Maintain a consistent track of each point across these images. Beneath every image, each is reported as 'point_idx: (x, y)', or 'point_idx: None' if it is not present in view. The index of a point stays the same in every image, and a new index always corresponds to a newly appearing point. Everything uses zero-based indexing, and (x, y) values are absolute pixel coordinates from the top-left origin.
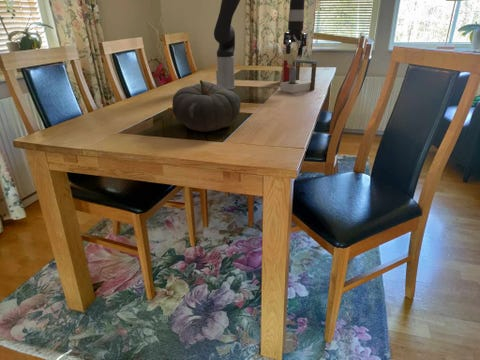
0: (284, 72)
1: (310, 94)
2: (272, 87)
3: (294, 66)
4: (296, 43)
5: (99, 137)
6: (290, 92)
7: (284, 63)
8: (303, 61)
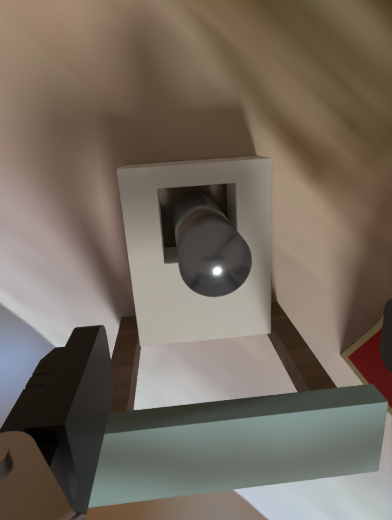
0: None
1: (30, 236)
2: (368, 174)
3: None
4: (81, 514)
5: None
6: (150, 163)
7: None
8: (199, 414)
